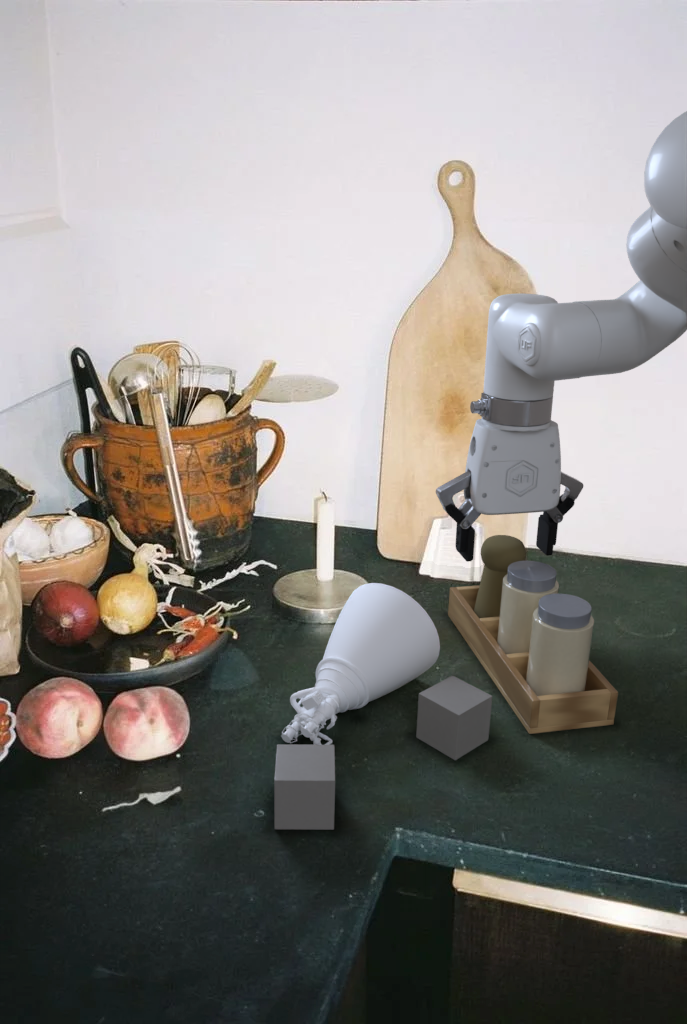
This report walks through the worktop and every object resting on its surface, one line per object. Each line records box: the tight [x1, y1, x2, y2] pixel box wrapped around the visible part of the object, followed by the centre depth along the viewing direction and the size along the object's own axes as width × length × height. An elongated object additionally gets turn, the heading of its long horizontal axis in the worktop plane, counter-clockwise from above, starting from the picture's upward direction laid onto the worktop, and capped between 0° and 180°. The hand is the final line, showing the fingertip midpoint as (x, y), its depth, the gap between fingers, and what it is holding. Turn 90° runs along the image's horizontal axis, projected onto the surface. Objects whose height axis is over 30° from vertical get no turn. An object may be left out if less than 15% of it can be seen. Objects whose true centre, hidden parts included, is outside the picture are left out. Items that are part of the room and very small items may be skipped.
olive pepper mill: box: [474, 534, 527, 619], centre depth 110 cm, size 6×6×11 cm
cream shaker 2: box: [526, 592, 595, 696], centre depth 95 cm, size 6×6×11 cm
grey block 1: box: [273, 743, 336, 831], centre depth 80 cm, size 5×5×5 cm
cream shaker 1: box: [497, 560, 560, 654], centre depth 103 cm, size 6×6×11 cm
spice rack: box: [447, 584, 619, 735], centre depth 104 cm, size 9×26×4 cm, turn 12°
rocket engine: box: [280, 582, 441, 745], centre depth 94 cm, size 12×12×18 cm
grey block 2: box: [415, 675, 493, 761], centre depth 90 cm, size 5×5×5 cm
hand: (505, 554), depth 109 cm, fingers open, 9 cm apart
